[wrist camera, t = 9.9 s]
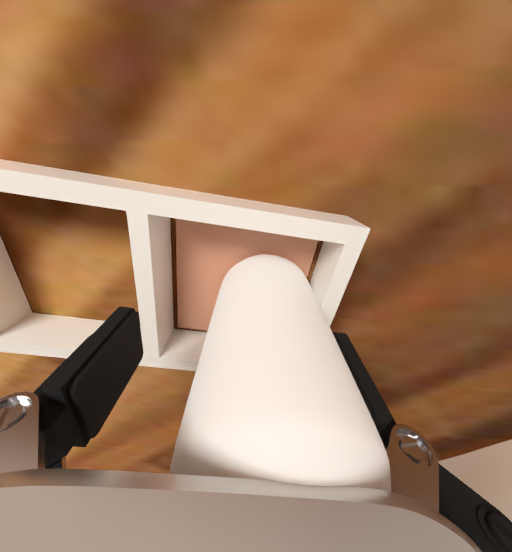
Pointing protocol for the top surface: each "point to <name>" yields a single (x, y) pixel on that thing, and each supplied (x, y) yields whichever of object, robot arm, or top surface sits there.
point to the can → (276, 390)
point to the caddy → (190, 259)
